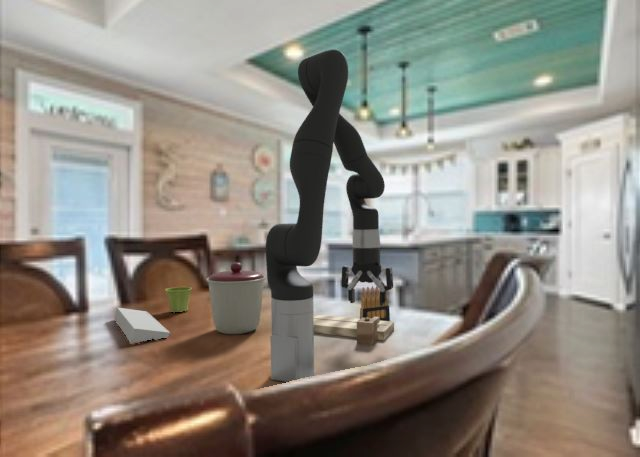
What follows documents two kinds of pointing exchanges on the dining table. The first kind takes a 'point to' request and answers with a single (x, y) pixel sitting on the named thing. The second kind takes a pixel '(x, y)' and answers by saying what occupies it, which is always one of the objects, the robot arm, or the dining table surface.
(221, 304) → the canister
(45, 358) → the dining table surface
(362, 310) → the ammunition clip
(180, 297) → the plant pot
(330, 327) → the board
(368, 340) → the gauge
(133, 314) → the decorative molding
